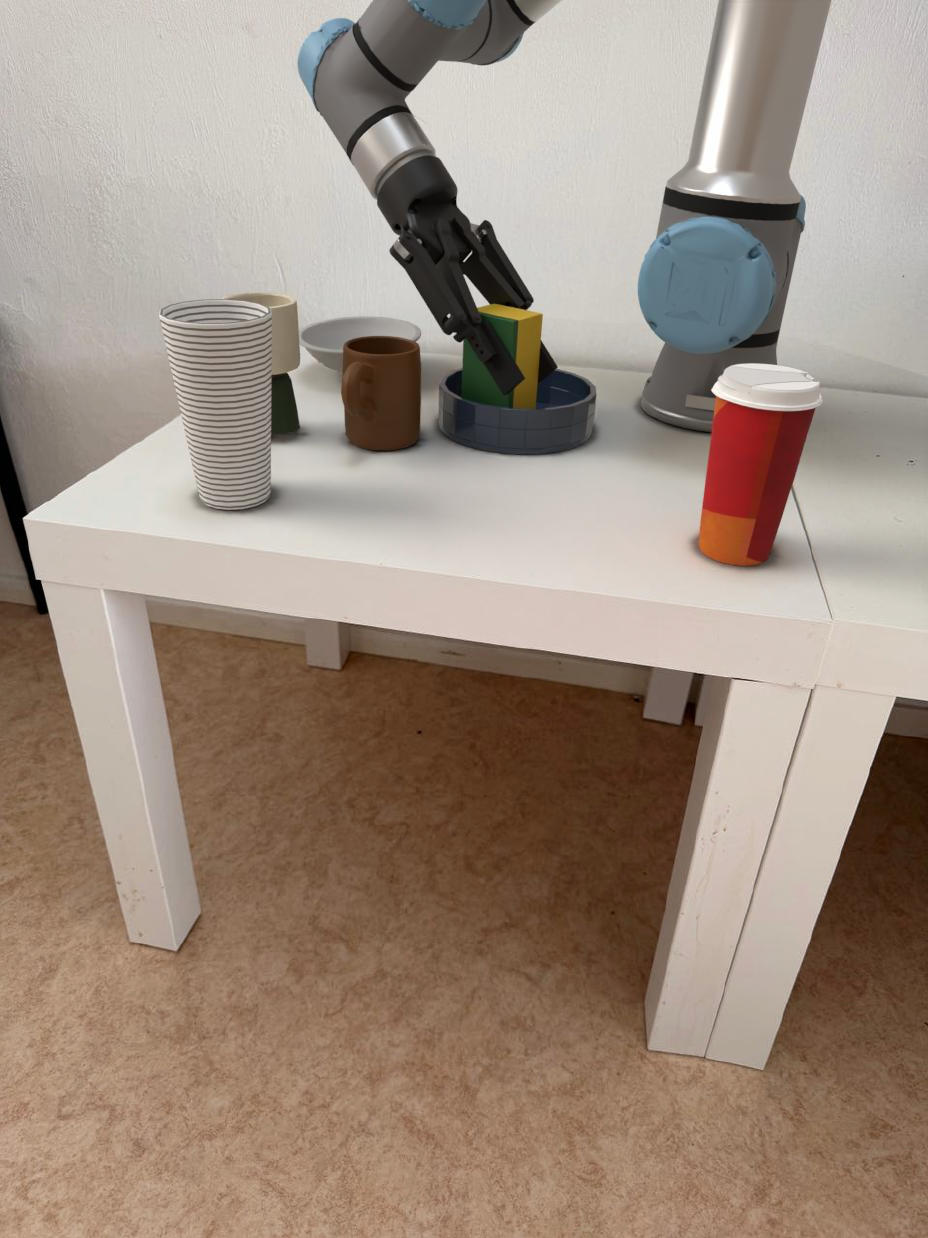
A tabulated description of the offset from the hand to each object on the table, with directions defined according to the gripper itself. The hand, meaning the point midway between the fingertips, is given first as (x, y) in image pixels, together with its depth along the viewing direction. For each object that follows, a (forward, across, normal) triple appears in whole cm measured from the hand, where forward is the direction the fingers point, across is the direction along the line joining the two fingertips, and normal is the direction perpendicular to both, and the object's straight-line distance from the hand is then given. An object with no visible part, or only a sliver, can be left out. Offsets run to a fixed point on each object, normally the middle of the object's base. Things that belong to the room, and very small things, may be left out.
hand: (530, 380), depth 87 cm
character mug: (-10, +16, -19) cm, 27 cm away
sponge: (0, 0, -6) cm, 6 cm away
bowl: (+2, -3, -7) cm, 8 cm away
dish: (-16, -5, -25) cm, 30 cm away
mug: (-3, +12, -12) cm, 17 cm away
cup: (-3, +29, -12) cm, 31 cm away
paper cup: (+23, +8, +14) cm, 28 cm away
